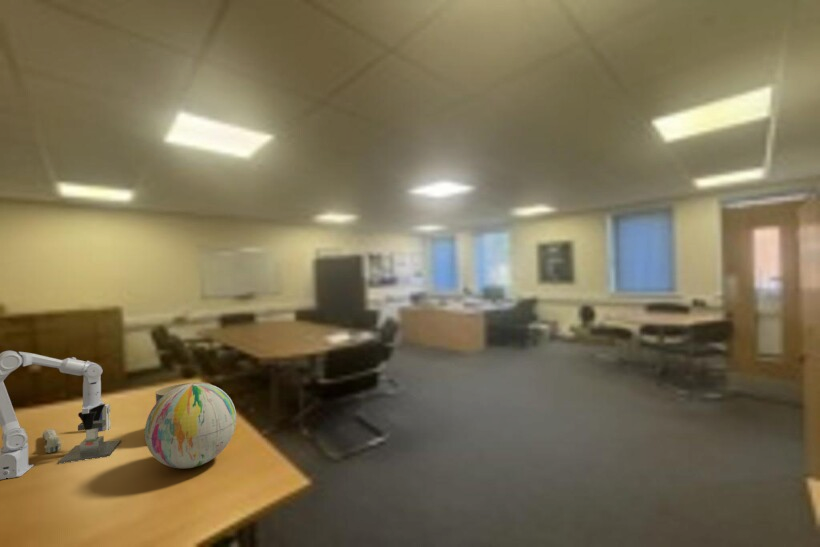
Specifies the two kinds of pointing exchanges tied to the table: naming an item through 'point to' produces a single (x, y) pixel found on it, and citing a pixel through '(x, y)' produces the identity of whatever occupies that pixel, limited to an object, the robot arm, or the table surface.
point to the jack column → (92, 430)
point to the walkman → (105, 417)
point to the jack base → (91, 450)
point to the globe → (190, 425)
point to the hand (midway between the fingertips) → (92, 426)
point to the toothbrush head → (51, 441)
